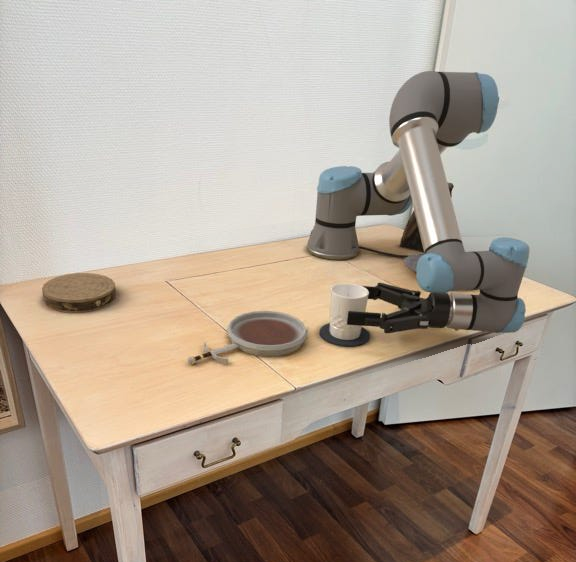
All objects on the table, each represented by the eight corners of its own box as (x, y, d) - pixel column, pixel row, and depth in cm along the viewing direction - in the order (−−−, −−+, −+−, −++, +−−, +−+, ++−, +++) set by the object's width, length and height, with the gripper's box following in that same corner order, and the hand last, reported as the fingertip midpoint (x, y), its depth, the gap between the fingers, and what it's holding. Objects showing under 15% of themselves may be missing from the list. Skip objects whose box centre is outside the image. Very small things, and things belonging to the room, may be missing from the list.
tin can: (112, 282, 143) (111, 270, 142) (119, 308, 131) (118, 296, 129) (43, 287, 138) (41, 275, 136) (44, 316, 126) (42, 303, 124)
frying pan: (164, 337, 115) (273, 302, 131) (165, 350, 117) (272, 313, 133) (213, 373, 105) (325, 330, 121) (213, 387, 106) (324, 343, 122)
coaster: (360, 322, 132) (360, 320, 131) (377, 345, 123) (377, 343, 122) (313, 324, 129) (313, 323, 129) (327, 348, 120) (327, 346, 120)
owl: (419, 238, 186) (431, 173, 176) (454, 248, 179) (468, 182, 169) (397, 246, 178) (408, 179, 168) (432, 257, 171) (446, 188, 161)
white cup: (358, 344, 122) (364, 300, 116) (322, 337, 123) (326, 294, 118) (366, 329, 128) (372, 287, 123) (332, 322, 130) (336, 280, 125)
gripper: (454, 355, 113) (346, 347, 114) (433, 302, 134) (342, 296, 135) (463, 320, 109) (351, 312, 110) (440, 272, 130) (346, 265, 131)
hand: (346, 303), depth 122 cm, fingers open, 13 cm apart
